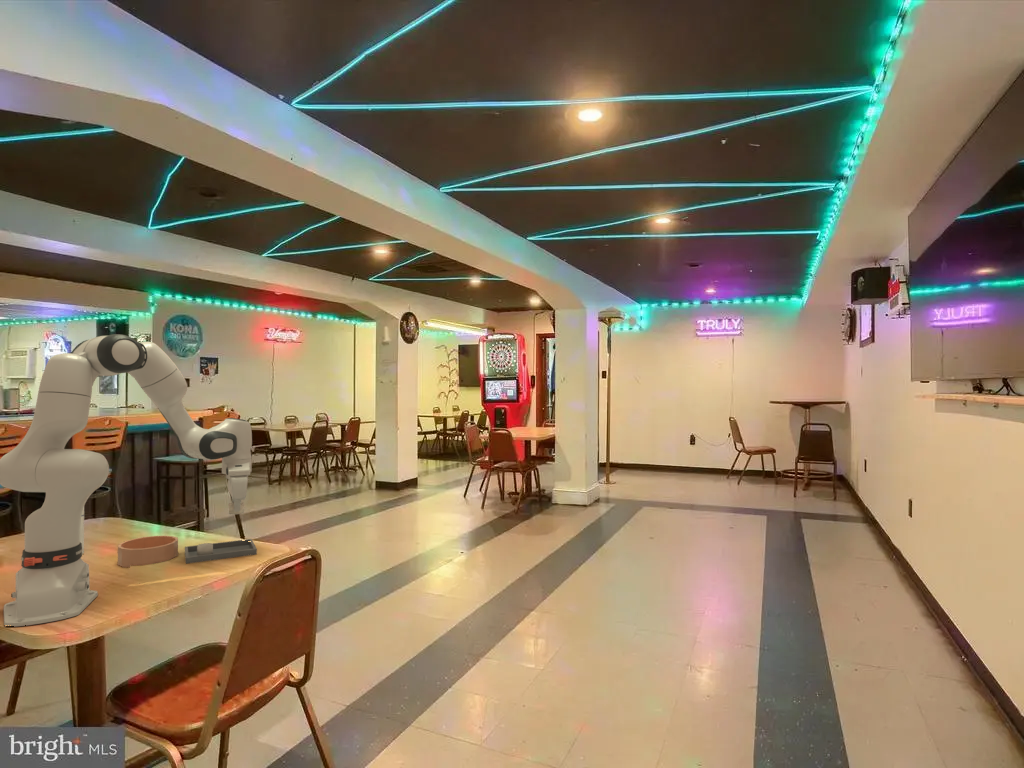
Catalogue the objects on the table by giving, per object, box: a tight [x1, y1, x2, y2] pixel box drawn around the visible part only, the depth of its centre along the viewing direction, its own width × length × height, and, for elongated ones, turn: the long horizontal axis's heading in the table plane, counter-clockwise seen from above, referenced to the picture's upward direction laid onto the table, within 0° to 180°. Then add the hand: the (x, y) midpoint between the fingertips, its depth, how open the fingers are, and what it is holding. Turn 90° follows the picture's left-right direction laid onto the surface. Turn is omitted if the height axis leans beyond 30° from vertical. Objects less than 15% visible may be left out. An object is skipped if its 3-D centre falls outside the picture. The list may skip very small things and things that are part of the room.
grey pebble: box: [197, 542, 213, 556], centre depth 186 cm, size 4×4×3 cm
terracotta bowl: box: [117, 535, 179, 568], centre depth 183 cm, size 16×16×6 cm
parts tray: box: [184, 538, 258, 565], centre depth 188 cm, size 14×20×2 cm
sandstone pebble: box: [228, 501, 245, 515], centre depth 190 cm, size 4×4×3 cm
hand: (236, 509), depth 190 cm, fingers closed on sandstone pebble, 4 cm apart
